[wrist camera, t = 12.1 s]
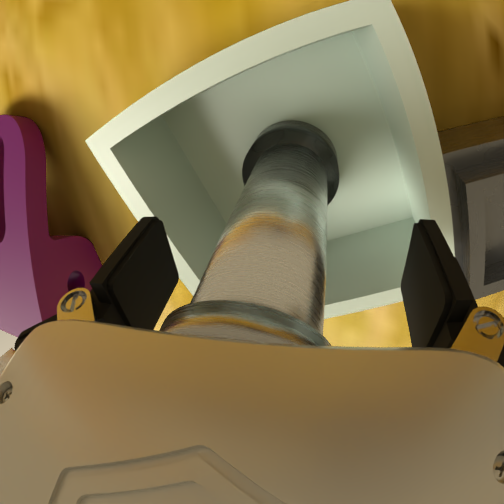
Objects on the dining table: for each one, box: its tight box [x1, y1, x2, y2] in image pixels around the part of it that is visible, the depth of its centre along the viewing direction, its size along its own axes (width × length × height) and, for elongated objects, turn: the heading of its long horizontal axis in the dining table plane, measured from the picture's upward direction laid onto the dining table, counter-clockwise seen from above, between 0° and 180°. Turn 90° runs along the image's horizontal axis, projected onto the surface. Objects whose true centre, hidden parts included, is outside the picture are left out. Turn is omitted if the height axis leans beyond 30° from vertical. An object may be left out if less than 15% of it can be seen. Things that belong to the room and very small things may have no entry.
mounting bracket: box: [0, 115, 102, 337], centre depth 22 cm, size 9×8×18 cm
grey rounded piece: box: [160, 120, 339, 346], centre depth 11 cm, size 5×5×13 cm
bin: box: [85, 0, 455, 319], centre depth 15 cm, size 13×13×6 cm
